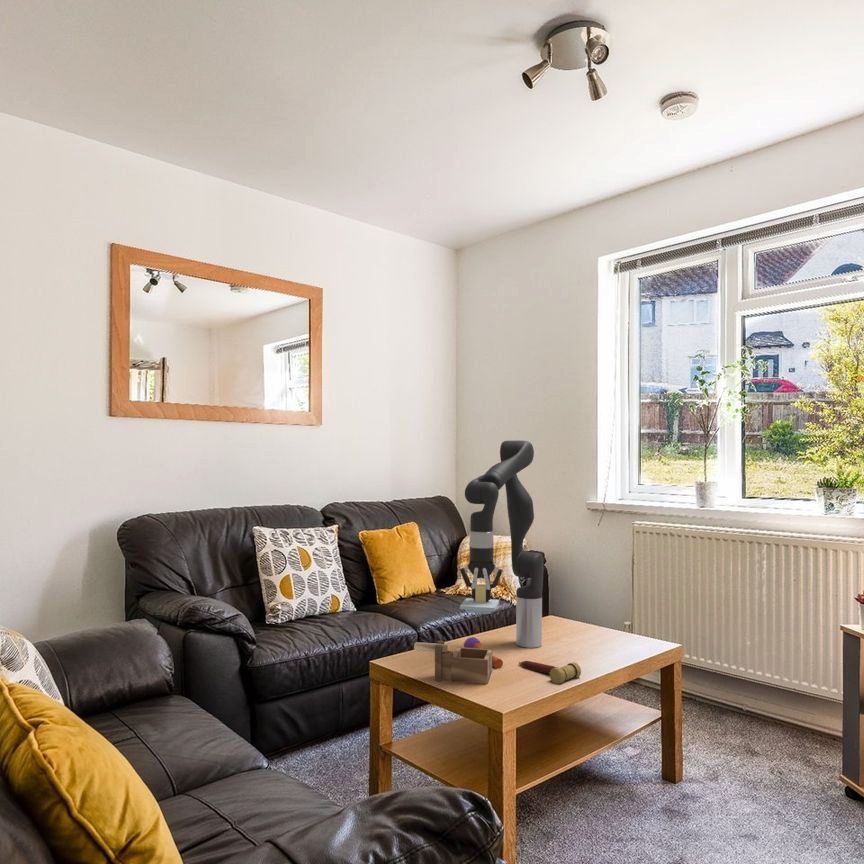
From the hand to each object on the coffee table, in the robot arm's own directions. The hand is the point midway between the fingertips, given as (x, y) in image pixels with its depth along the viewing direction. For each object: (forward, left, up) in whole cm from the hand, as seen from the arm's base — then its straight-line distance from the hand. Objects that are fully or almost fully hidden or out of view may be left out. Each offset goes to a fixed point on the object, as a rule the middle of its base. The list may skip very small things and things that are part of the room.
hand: (481, 600), depth 210 cm
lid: (+3, 0, -2) cm, 3 cm away
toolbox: (+3, -5, -23) cm, 24 cm away
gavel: (-6, +19, -24) cm, 31 cm away
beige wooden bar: (+6, -15, -15) cm, 22 cm away
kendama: (-15, -1, -23) cm, 28 cm away
